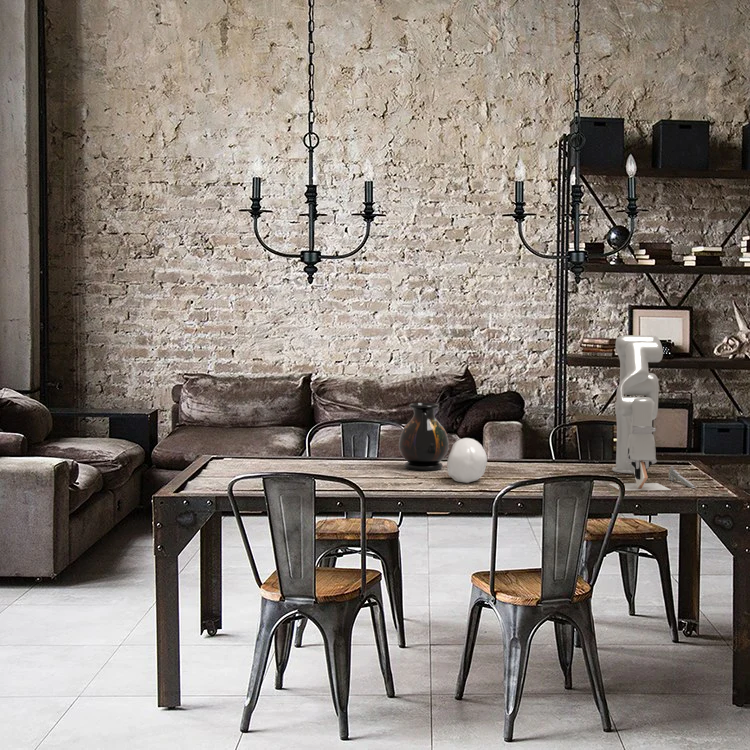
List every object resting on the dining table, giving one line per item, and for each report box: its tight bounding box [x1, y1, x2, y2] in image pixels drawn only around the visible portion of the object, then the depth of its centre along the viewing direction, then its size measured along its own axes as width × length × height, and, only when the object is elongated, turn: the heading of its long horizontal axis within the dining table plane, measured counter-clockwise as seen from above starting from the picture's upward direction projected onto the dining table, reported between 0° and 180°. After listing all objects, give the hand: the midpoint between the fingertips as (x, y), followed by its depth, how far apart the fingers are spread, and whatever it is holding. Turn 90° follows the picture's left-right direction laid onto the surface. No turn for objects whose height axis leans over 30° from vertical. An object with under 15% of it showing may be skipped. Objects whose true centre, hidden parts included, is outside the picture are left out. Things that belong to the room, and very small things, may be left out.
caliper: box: [668, 465, 696, 489], centre depth 399 cm, size 20×1×6 cm, turn 11°
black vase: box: [398, 402, 450, 472], centre depth 434 cm, size 22×22×28 cm
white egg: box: [446, 437, 488, 484], centre depth 405 cm, size 16×20×22 cm
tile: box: [633, 461, 649, 488], centre depth 385 cm, size 8×2×7 cm
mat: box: [608, 482, 672, 492], centre depth 390 cm, size 15×20×1 cm
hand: (640, 478), depth 385 cm, fingers closed on tile, 1 cm apart
